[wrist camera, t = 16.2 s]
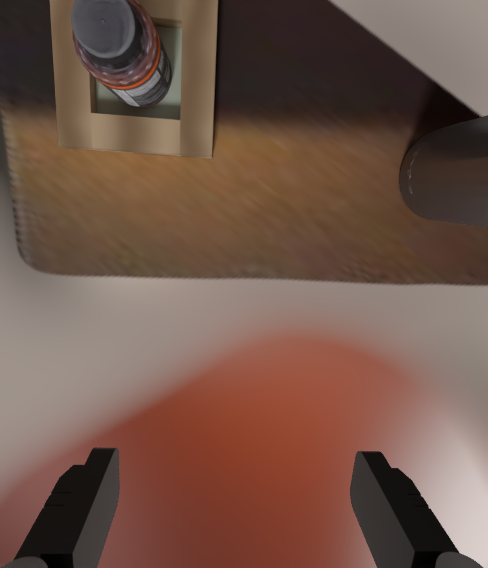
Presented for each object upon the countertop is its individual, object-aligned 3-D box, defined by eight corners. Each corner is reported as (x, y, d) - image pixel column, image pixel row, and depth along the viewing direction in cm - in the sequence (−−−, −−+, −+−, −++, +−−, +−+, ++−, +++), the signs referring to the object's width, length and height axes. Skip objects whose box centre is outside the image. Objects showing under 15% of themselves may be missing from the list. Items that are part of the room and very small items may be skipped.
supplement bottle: (97, 50, 33) (36, -20, 22) (159, 29, 33) (129, -51, 22) (122, 118, 34) (77, 85, 23) (182, 99, 34) (164, 56, 23)
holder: (219, -25, 32) (219, -38, 30) (212, 158, 36) (211, 156, 34) (57, -43, 31) (46, -58, 29) (67, 148, 35) (58, 145, 33)
